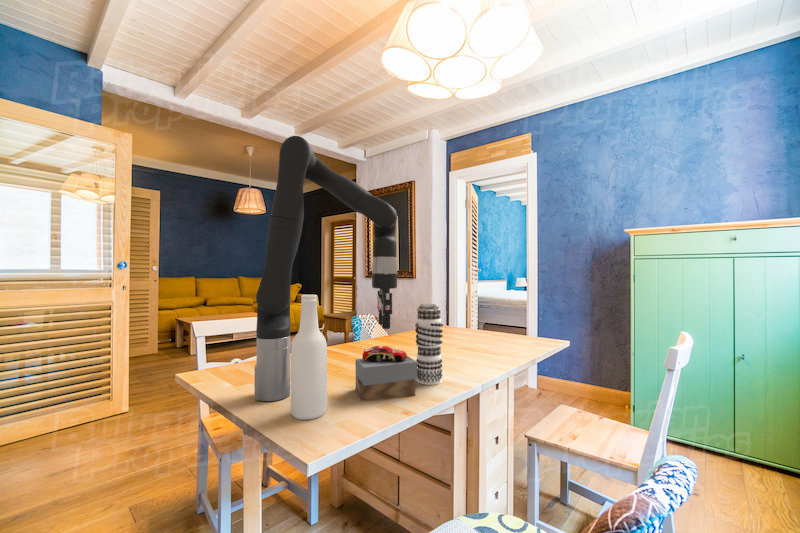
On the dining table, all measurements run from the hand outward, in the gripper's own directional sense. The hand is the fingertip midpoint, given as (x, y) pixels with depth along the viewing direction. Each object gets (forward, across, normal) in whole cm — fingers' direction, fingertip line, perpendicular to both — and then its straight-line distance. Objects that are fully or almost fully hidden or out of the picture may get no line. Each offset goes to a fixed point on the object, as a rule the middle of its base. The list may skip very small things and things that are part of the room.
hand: (384, 326), depth 105 cm
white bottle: (+20, +12, -21) cm, 31 cm away
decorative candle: (+19, -8, +16) cm, 26 cm away
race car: (+10, 0, 0) cm, 10 cm away
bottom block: (+20, 0, 0) cm, 20 cm away
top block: (+15, +1, +1) cm, 15 cm away
